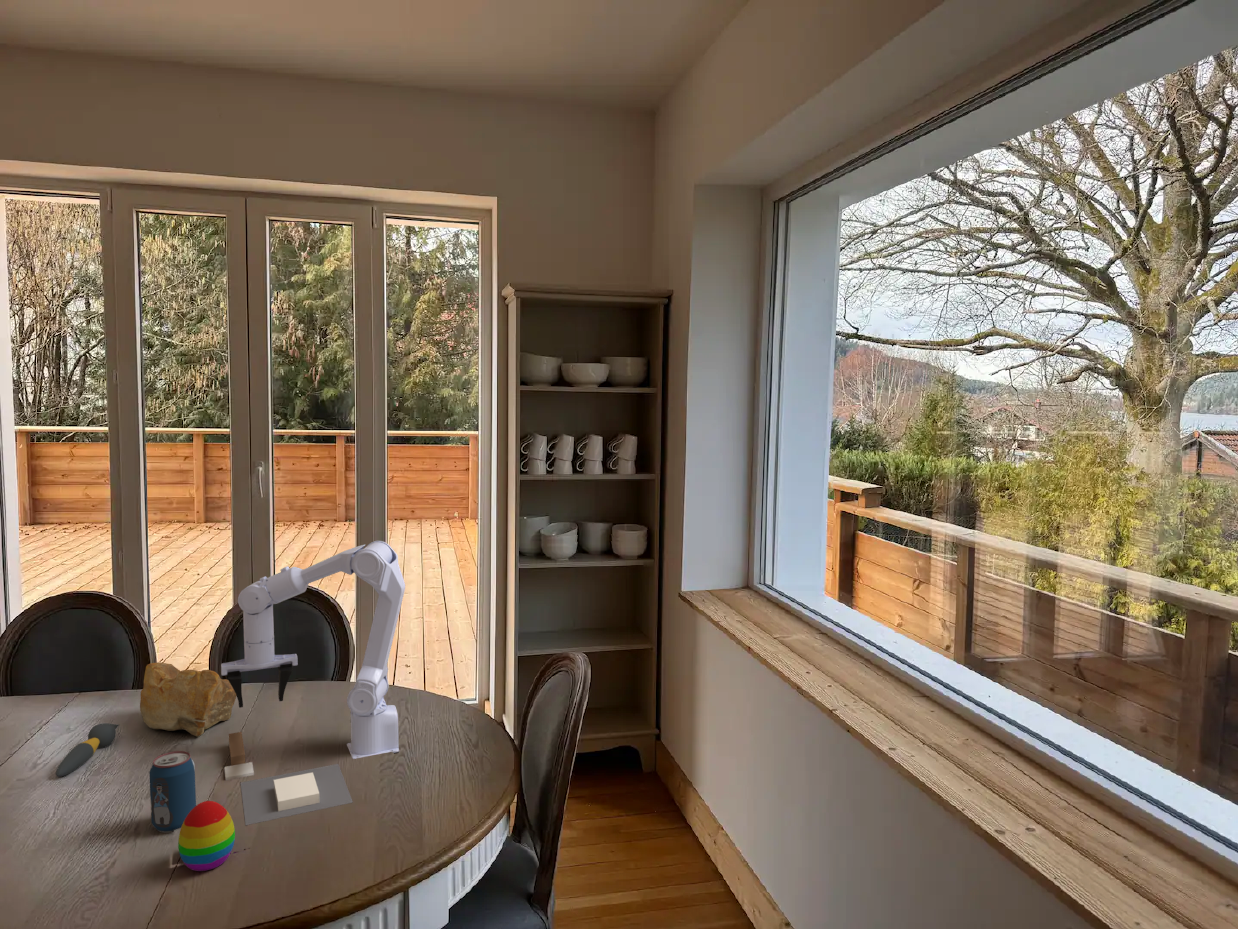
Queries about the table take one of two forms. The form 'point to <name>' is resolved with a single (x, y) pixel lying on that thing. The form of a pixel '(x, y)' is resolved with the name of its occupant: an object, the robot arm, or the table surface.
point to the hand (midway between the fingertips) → (261, 702)
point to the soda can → (172, 790)
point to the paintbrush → (87, 748)
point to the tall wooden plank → (237, 759)
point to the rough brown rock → (184, 698)
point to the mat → (264, 807)
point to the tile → (296, 791)
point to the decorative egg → (206, 836)
